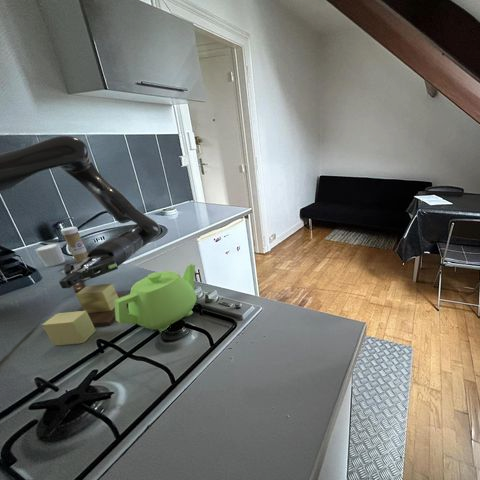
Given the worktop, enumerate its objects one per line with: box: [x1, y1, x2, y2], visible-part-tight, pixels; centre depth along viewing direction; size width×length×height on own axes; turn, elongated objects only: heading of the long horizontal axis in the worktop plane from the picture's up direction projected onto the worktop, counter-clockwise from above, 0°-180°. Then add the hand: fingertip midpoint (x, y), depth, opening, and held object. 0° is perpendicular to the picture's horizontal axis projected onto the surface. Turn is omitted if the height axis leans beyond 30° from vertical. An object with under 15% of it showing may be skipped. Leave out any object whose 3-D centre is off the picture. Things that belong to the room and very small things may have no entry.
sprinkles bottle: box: [60, 226, 89, 263], centre depth 100 cm, size 5×5×14 cm
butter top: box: [41, 310, 97, 347], centre depth 60 cm, size 6×4×6 cm, turn 94°
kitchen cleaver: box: [60, 269, 91, 294], centre depth 89 cm, size 24×1×10 cm
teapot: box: [114, 263, 198, 333], centre depth 64 cm, size 20×13×13 cm
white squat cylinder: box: [34, 243, 66, 268], centre depth 100 cm, size 7×7×7 cm
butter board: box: [75, 283, 130, 328], centre depth 69 cm, size 11×13×7 cm
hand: (63, 284), depth 60 cm, fingers closed
